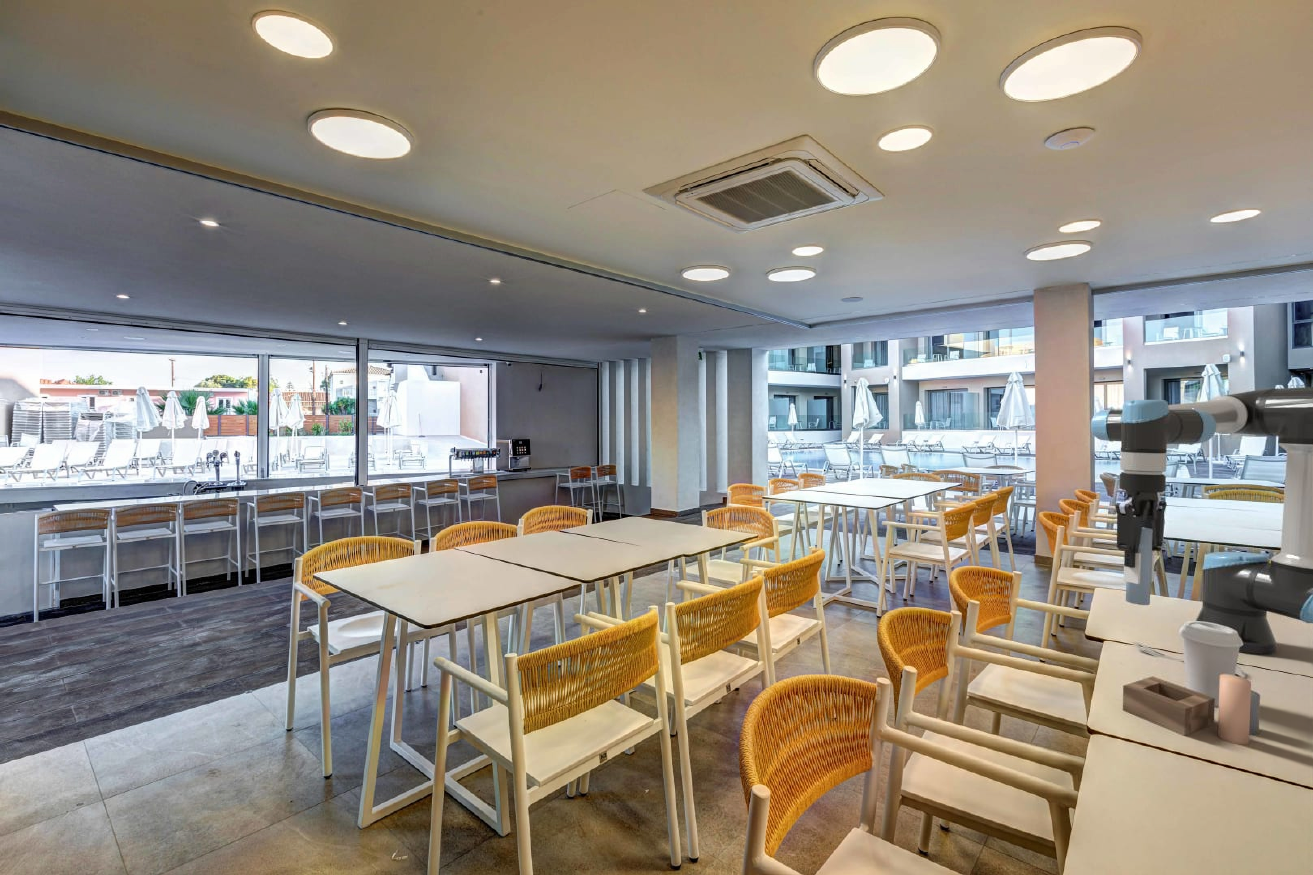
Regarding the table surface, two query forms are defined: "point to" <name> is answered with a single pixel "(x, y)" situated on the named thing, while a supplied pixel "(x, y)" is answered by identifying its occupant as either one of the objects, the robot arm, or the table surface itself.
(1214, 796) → the table surface
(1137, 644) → the silver metal utensil
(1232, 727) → the medium dowel
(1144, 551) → the tall dowel
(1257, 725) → the short dowel
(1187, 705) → the socket block
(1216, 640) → the coffee cup
